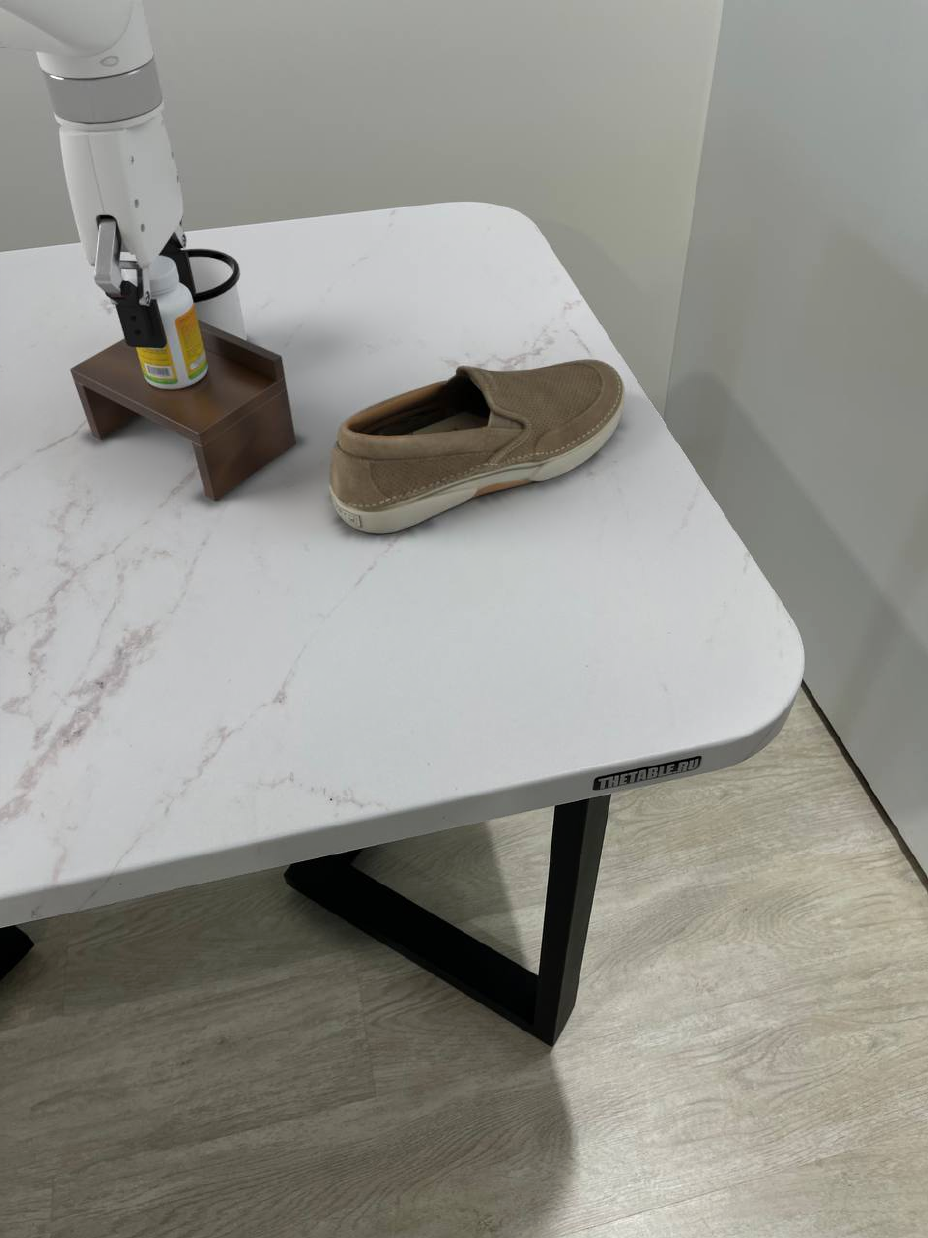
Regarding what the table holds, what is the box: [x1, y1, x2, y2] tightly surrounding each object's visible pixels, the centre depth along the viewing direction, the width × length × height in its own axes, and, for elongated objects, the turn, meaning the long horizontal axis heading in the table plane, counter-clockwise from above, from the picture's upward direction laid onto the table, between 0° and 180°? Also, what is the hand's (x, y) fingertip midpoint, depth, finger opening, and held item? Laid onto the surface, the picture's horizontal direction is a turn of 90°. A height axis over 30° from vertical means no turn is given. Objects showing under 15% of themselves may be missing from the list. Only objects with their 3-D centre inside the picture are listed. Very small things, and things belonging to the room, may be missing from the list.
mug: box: [184, 248, 248, 341], centre depth 99 cm, size 12×10×9 cm
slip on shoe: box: [328, 358, 626, 534], centre depth 86 cm, size 30×11×9 cm, turn 121°
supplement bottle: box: [123, 256, 207, 389], centre depth 83 cm, size 5×5×10 cm
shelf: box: [69, 319, 297, 502], centre depth 89 cm, size 10×16×9 cm, turn 54°
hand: (162, 318), depth 83 cm, fingers open, 7 cm apart
